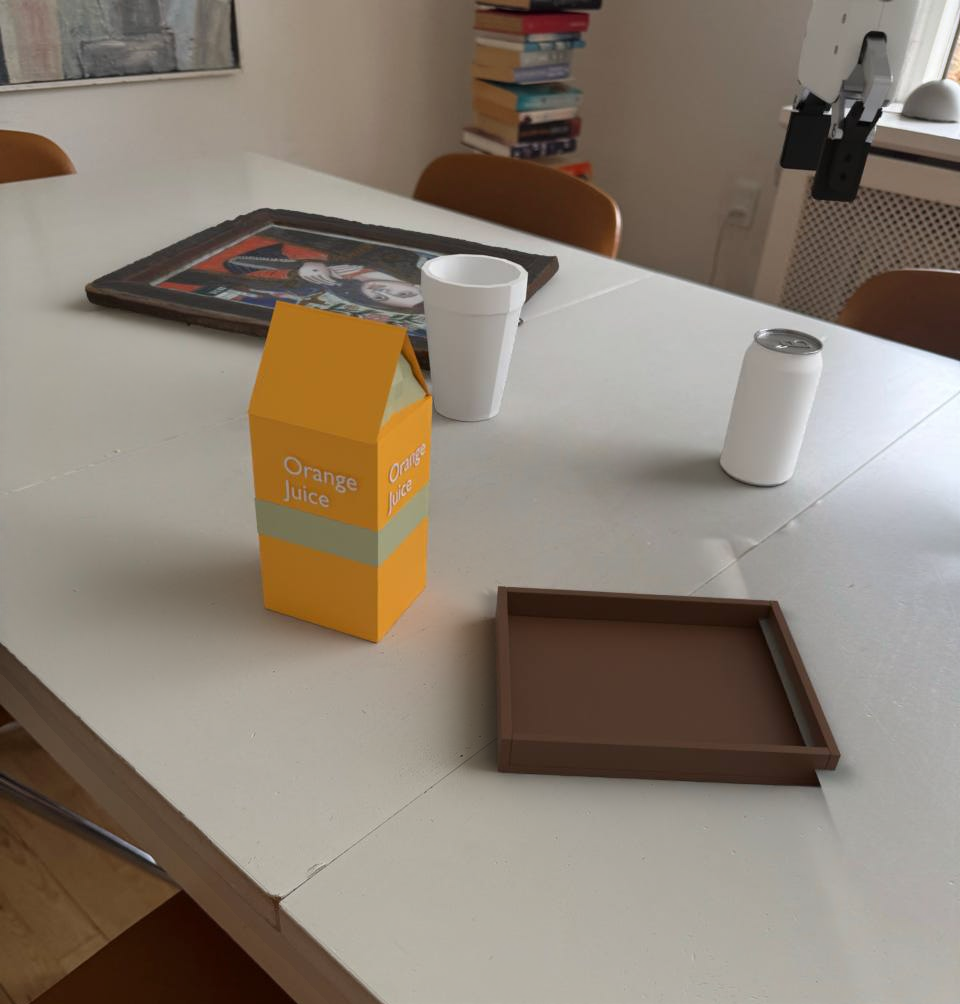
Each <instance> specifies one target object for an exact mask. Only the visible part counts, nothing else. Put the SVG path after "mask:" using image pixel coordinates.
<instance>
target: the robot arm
mask: <svg viewBox="0 0 960 1004" xmlns="http://www.w3.org/2000/svg"><path fill="white" fill-rule="evenodd" d="M920 4H921V0H812V4H811V8H810V12H809V15H808V20H807V24H806V27H805V31H804V37H803V41H802V46H801V51H800V55H799V56H800V57H799V61H798V68H797V79H798V80H797V82H798V84H799V86H798V88H797V90H796V92H795V95H794V97H793V101H792V107H791V108H792V109H791V110H792V111H790V115H789V119H788V124H787V128H786V132H785V137H784V140H783V145H782V150H781V154H780V157H779V167H781V168H782V169H785V170H799V171H809V172H810V171H811V172H815V174H814V177H813V182H812V185H811V189H810V196H811V198H812V199H814V200H816V201H828V202H841V203H852V202H854V201H855V200H856V198H857V196H858V193H859V189H860V185H861V182H862V177H863V174H864V171H865V167H866V163H867V160H868V156H869V153H870V149H871V145H872V143H873V141H874V139H875V137H876V132H877V123H878V122H879V120H880V119H881V118H882V116H883V114H884V112H883V109H884V108H888V107H889V106H890V105H892V104H893V103H894V102H895V100H896V99H897V96H898V94H899V89H900V86H901V82H902V78H903V74H904V71H905V66H906V63H907V58H908V54H909V51H910V46H911V43H912V38H913V33H914V30H915V27H916V26H915V25H916V21H917V17H918V13H919V8H920ZM846 109H849V111H848V112H847V114H846ZM830 111H831V114H829V113H830ZM829 134H830V137H829Z"/></svg>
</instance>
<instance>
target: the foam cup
mask: <svg viewBox="0 0 960 1004" xmlns="http://www.w3.org/2000/svg"><path fill="white" fill-rule="evenodd" d="M527 278H528V272H527V271H526V270H525V269H524V268H523V267H522V266H521V265H518V264H516V263H513V262H511V261H508V260H506V259H501V258H496V257H490V256H485V255H467V254H458V255H448V256H440V257H437V258H434V259H431V260H428V261H426V262H425V264H424V265H423V266H422V268H421V296H422V297H423V300H424V310H425V320H426V330H427V340H428V350H429V360H430V370H431V371H430V379H431V389H432V401H433V402H434V403H433V407H434V408H435V410H436V411H437V413H438V414H440V415H442V416H444V417H446V418H448V419H451V420H456V421H461V422H479V421H480V422H481V421H486V420H490V419H492V418H494V417H495V416H497V415H498V414H499V411H500V408H501V404H502V400H503V395H504V391H505V386H506V383H507V377H508V373H509V368H510V363H511V360H512V359H511V358H512V355H513V350H514V344H515V340H516V335H517V332H518V326H519V325H518V322H520V320H519V317H520V318H521V312H522V308H523V307H524V305H525V304H524V302H525V299H526V289H527ZM523 304H524V305H523Z"/></svg>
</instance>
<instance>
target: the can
mask: <svg viewBox="0 0 960 1004" xmlns="http://www.w3.org/2000/svg"><path fill="white" fill-rule="evenodd" d="M823 349H824V344H823V341H821V340H820V339H819V338H817V337H816V336H815V335H812V334H809V333H807V332H803V331H799V330H796V329H791V328H782V327H769V328H763V329H759V330H757V331H756V332H755V333H754V334H753V340H752V342H751V343H750V344H749V346H748V347H747V348H746V349H745V352H744V355H743V359H742V363H741V368H740V370H739V371H740V372H739V376H738V380H737V384H736V388H735V393H734V397H733V402H732V405H731V409H730V415H729V419H728V423H727V428H726V432H725V436H724V441H723V445H722V450H721V454H720V460H719V463H720V467H722V470H723V471H724V472H725V474H727V476H728V477H730V478H732V479H734V480H735V481H737V482H740V483H743V484H747V485H750V486H756V487H776V486H780V485H783V484H784V483H786V482H787V481H788V480H790V479H791V478H792V477H793V476H794V475H793V474H794V471H795V468H796V465H797V462H798V458H799V455H800V451H801V447H802V444H803V440H804V436H805V433H806V431H807V430H806V429H807V426H808V423H809V419H810V415H811V412H812V408H813V405H814V401H815V397H816V394H817V390H818V386H819V383H820V380H821V375H822V372H823V368H824V361H823V356H822V350H823Z"/></svg>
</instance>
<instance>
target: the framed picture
mask: <svg viewBox="0 0 960 1004" xmlns="http://www.w3.org/2000/svg"><path fill="white" fill-rule="evenodd" d="M458 254H467V255H485V256H490V257H496V258H501V259H506V260H508V261H511V262H513V263H516V264H518V265H521V266H522V267H523V268H524V269H525V270H526V271H527V272H528V278H527V289H526V299H525V302H524V304H523V306H524V305H526V303H527V302H529V301H530V299H532V297H533V296H534V295H535V294H536V293H537V292H538V291H539V290H540V289H542V288H543V287H544V286H545V285H546V284H547V283H548V282H550V280H551V279H552V278H553V277H554V276H556V274H557V272H558V271H559V268H560V263H559V259H558V256H557V255H545V254H538V253H529V252H525V251H520V250H517V249H510V248H508V247H501V246H492V245H488V244H483V243H480V242H477V241H471V240H466V239H463V238H462V239H461V238H458V237H457V238H456V237H452V236H451V237H450V236H444V235H438V234H434V233H426V232H422V231H416V230H409V229H405V228H400V227H391V226H385V225H380V224H379V225H376V224H373V223H363V222H361V221H357V220H349V219H347V218H345V219H344V218H340V217H335V216H328V215H327V216H326V215H323V214H319V213H318V214H317V213H309V212H304V211H299V210H292V209H285V208H275V209H274V208H270V207H261V208H257V209H255V210H252V211H250V212H247V213H246V214H239V215H237V216H236V217H235V218H234V219H226V220H224V221H222V222H220V223H218V224H216V225H215V226H211V227H207V228H205V229H204V230H200V231H199V232H196V233H194V234H192V235H189V236H187V237H186V238H183V239H181V240H178V241H177V242H175V243H172V244H170V245H168V246H166V247H164V248H161V249H159V250H156V251H154V252H153V253H151V254H149V255H147V256H145V257H141V258H139V259H136V260H135V261H134V262H132V263H129V264H126V265H124V266H122V267H121V268H120V267H119V268H118V269H116V270H114V271H111V272H108V273H107V274H104V275H102V276H101V277H98V278H95V279H94V280H93V281H91V282H88V283H87V284H86V285H85V286H84V291H85V295H86V298H87V300H88V302H89V304H93V305H96V306H99V307H104V308H108V309H113V310H118V311H123V312H126V313H131V314H132V313H133V314H137V315H142V316H147V317H152V318H157V319H162V320H167V321H170V322H171V321H173V322H175V323H176V322H177V323H181V324H185V325H186V326H187V327H191V326H198V327H202V328H207V329H212V330H217V331H222V332H227V333H235V334H240V335H247V336H250V337H251V336H252V337H257V338H262V339H265V340H266V339H267V335H268V331H269V327H270V324H271V320H272V316H273V312H274V308H275V304H276V301H277V300H278V301H283V302H287V303H292V304H297V305H301V306H306V307H311V308H316V309H320V310H325V311H330V312H334V313H339V314H344V315H348V316H353V317H358V318H362V319H367V320H372V321H376V322H381V323H386V324H390V325H395V326H400V327H405V328H407V330H406V332H407V335H408V337H409V340H410V343H411V345H412V348H413V351H414V353H415V356H416V359H417V361H418V364H419V367H420V369H421V371H427V372H429V371H430V372H431V370H430V360H429V350H428V340H427V330H426V320H425V310H424V300H423V297H422V296H421V268H422V266H423V265H424V264H425V262H426V261H428V260H431V259H434V258H437V257H440V256H448V255H458ZM523 324H524V320H523V319H522V318H521V316H520V317H519V322H518V326H519V325H523Z"/></svg>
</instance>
